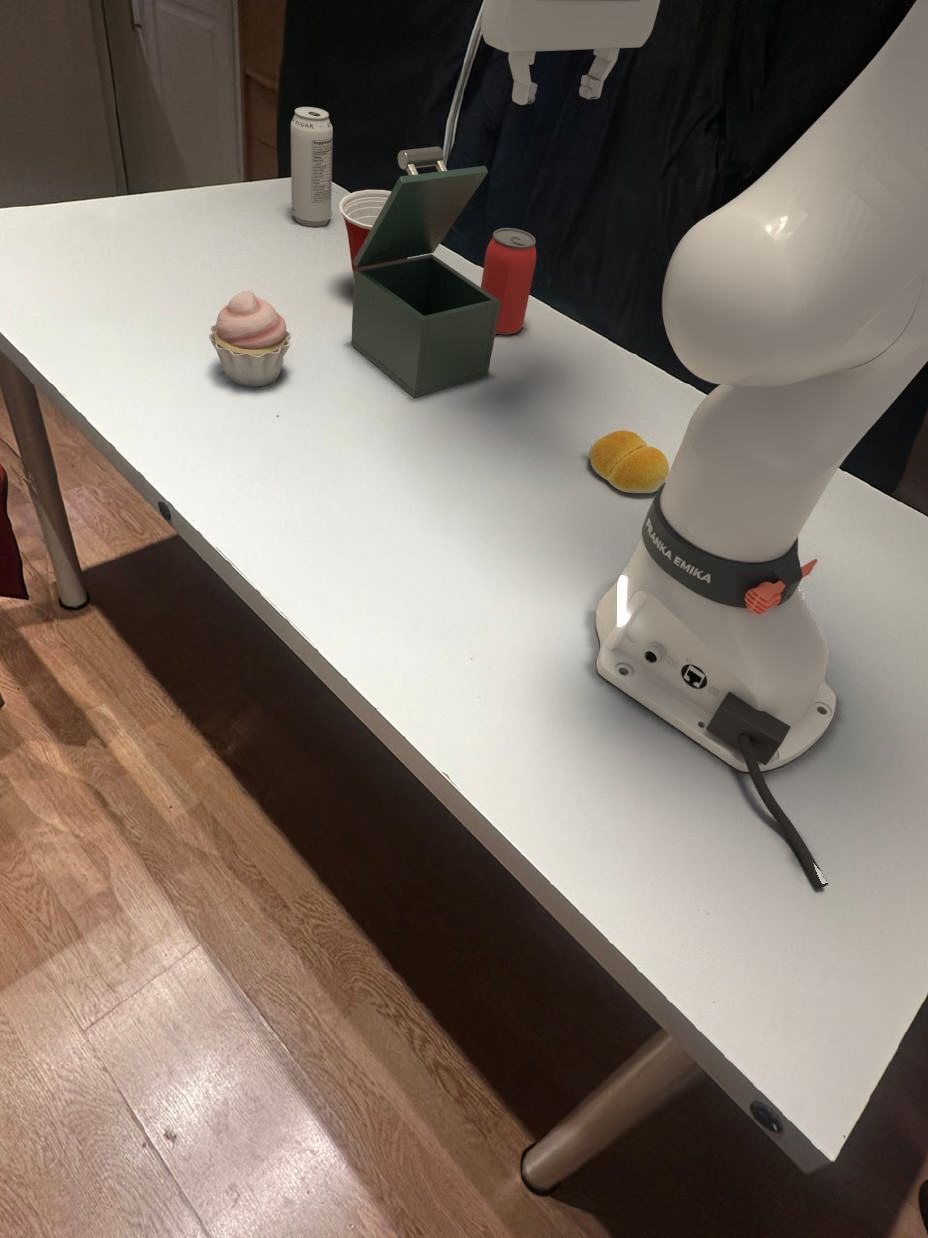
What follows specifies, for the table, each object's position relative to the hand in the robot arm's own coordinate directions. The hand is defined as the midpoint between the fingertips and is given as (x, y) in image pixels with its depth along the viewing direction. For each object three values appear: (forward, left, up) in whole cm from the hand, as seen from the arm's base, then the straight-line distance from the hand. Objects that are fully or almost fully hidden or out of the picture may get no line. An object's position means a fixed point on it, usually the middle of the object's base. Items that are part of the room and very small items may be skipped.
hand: (556, 99), depth 83 cm
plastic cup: (+24, +3, -31) cm, 39 cm away
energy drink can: (+49, -2, -31) cm, 58 cm away
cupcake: (+13, +28, -31) cm, 44 cm away
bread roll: (-23, +1, -31) cm, 38 cm away
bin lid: (+10, +8, -15) cm, 19 cm away
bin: (+7, +8, -31) cm, 33 cm away
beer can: (+10, -8, -31) cm, 33 cm away
